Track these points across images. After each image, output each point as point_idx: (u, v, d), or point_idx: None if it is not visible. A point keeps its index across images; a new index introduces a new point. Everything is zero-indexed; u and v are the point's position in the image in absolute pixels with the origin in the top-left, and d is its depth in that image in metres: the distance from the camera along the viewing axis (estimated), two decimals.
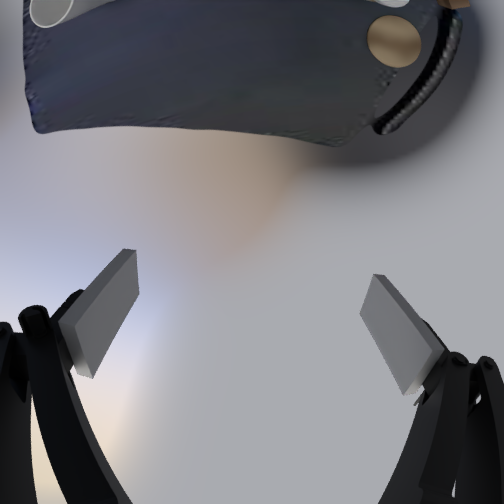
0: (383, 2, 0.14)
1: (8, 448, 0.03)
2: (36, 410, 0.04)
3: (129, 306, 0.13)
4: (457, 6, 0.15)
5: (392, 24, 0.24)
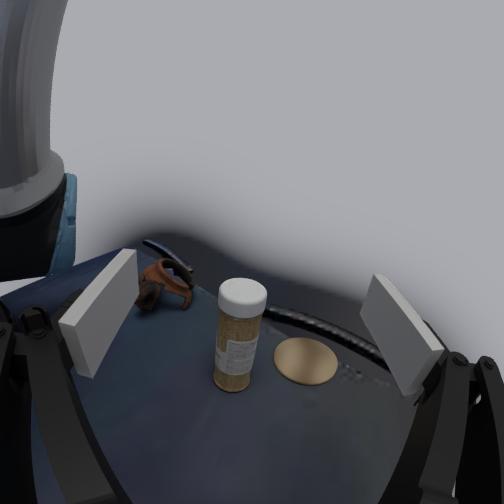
0: (261, 298, 0.25)
1: (8, 448, 0.03)
2: (36, 410, 0.04)
3: (129, 306, 0.13)
4: None
5: (285, 357, 0.35)
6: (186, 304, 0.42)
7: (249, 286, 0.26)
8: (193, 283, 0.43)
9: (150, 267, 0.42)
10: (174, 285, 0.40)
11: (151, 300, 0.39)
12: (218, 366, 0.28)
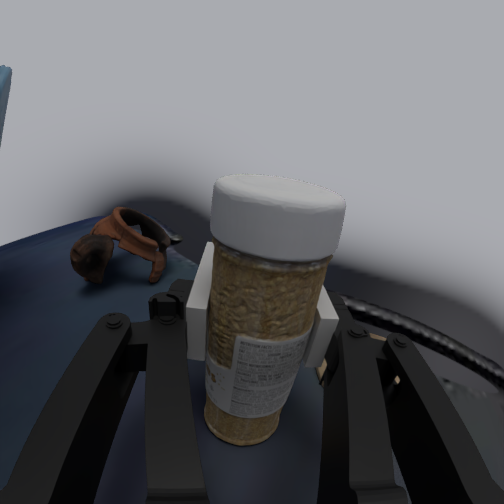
0: (338, 201, 0.08)
1: (88, 444, 0.05)
2: (146, 393, 0.06)
3: None
4: None
5: None
6: (154, 275, 0.26)
7: (297, 184, 0.10)
8: (167, 242, 0.27)
9: (104, 218, 0.26)
10: (135, 240, 0.24)
11: (99, 266, 0.23)
12: (213, 398, 0.11)
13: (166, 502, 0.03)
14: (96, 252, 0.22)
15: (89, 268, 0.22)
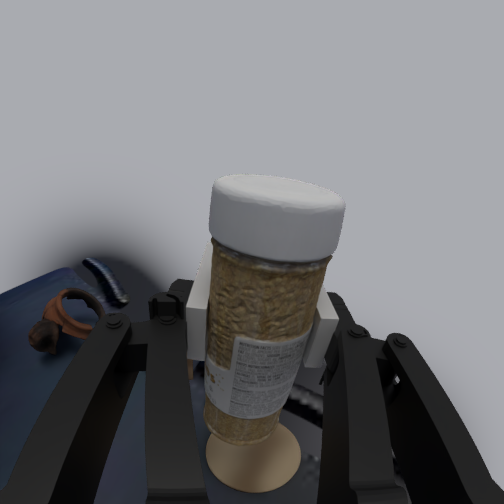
0: (338, 201, 0.08)
1: (88, 444, 0.05)
2: (146, 392, 0.06)
3: None
4: None
5: (221, 449, 0.20)
6: None
7: (296, 184, 0.09)
8: None
9: (51, 301, 0.27)
10: (73, 327, 0.26)
11: (51, 343, 0.25)
12: (212, 398, 0.11)
13: (166, 502, 0.03)
14: (46, 337, 0.23)
15: (44, 346, 0.24)
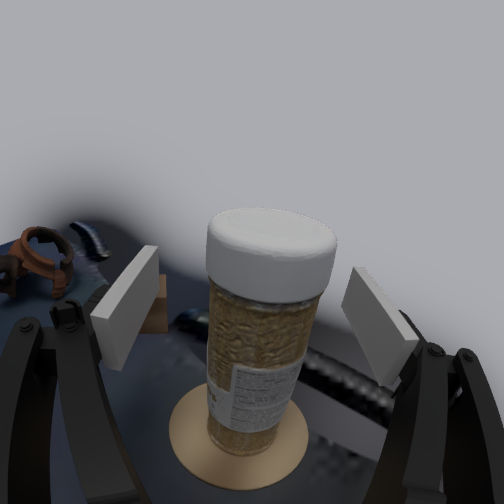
0: (329, 243, 0.08)
1: (26, 444, 0.04)
2: (62, 403, 0.05)
3: (151, 301, 0.14)
4: (162, 289, 0.23)
5: (192, 422, 0.15)
6: (55, 291, 0.23)
7: (289, 220, 0.10)
8: (66, 260, 0.25)
9: (19, 238, 0.23)
10: (34, 260, 0.21)
11: (11, 282, 0.20)
12: (214, 414, 0.12)
13: None
14: (4, 271, 0.19)
15: (3, 285, 0.19)
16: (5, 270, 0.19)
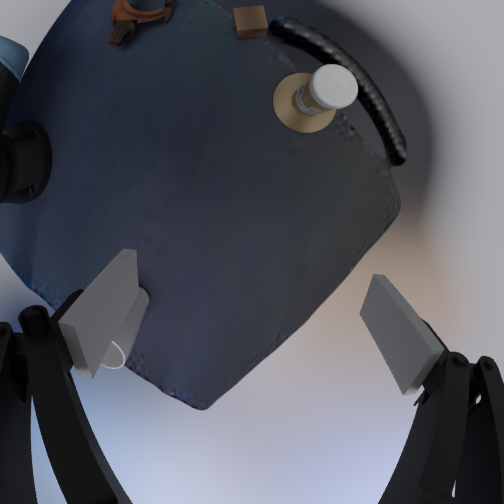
0: (351, 102, 0.22)
1: (8, 448, 0.03)
2: (36, 410, 0.04)
3: (129, 306, 0.13)
4: (263, 20, 0.26)
5: (284, 97, 0.33)
6: (166, 19, 0.27)
7: (343, 82, 0.21)
8: (169, 0, 0.23)
9: (117, 5, 0.21)
10: (147, 16, 0.23)
11: (129, 33, 0.26)
12: (298, 105, 0.30)
13: None
14: (125, 34, 0.25)
15: (123, 39, 0.26)
16: (126, 33, 0.25)
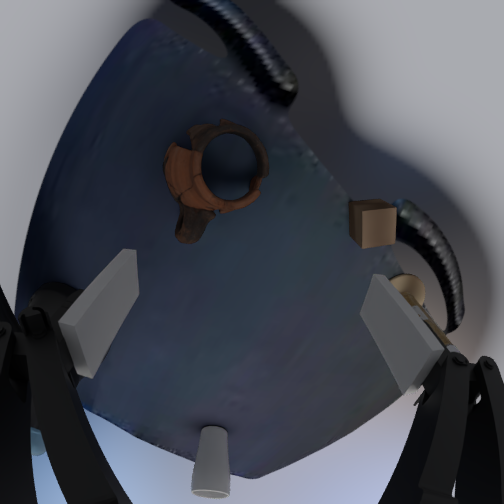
0: None
1: (8, 448, 0.03)
2: (36, 410, 0.04)
3: (129, 306, 0.13)
4: (392, 232, 0.26)
5: None
6: None
7: None
8: (266, 170, 0.23)
9: (181, 176, 0.21)
10: None
11: None
12: None
13: None
14: None
15: None
16: None
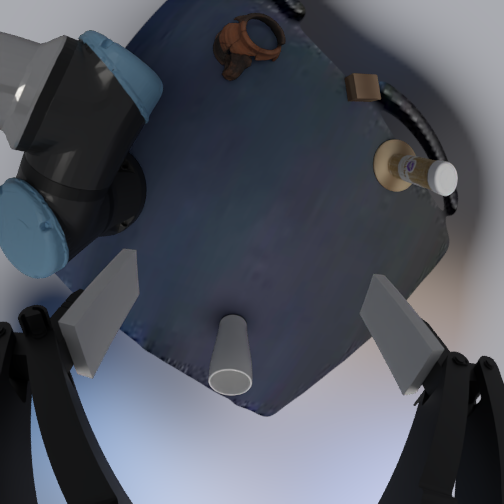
0: (452, 191, 0.28)
1: (8, 448, 0.03)
2: (36, 410, 0.04)
3: (129, 306, 0.13)
4: (377, 91, 0.32)
5: (382, 161, 0.39)
6: (276, 58, 0.33)
7: (451, 177, 0.27)
8: (283, 40, 0.29)
9: (232, 34, 0.27)
10: (267, 55, 0.29)
11: None
12: (399, 174, 0.37)
13: None
14: None
15: None
16: (243, 69, 0.30)
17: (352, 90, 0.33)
